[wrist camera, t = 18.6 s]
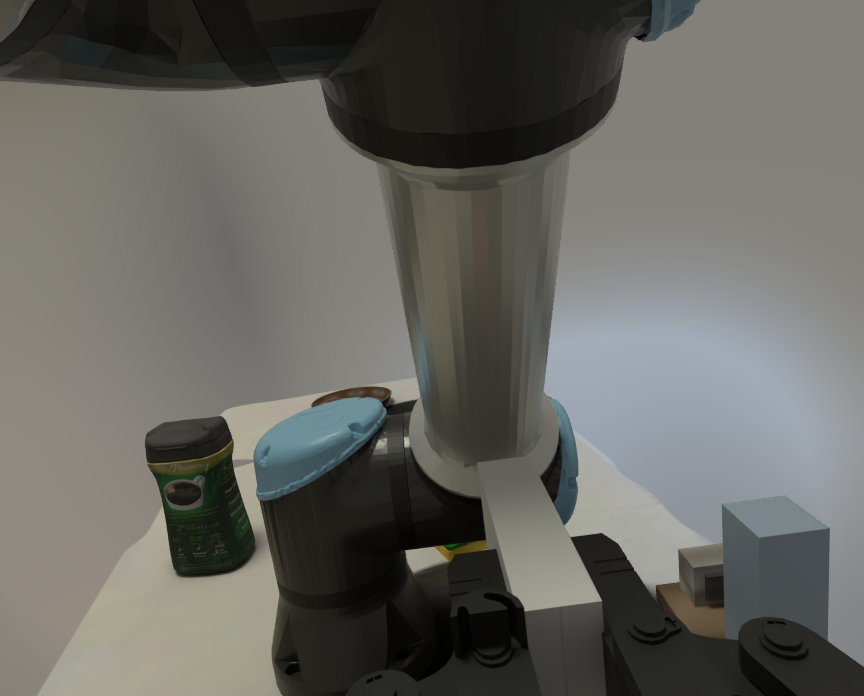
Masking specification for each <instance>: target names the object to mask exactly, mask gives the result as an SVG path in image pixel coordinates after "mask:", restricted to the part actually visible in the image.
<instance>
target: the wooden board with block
mask: <svg viewBox="0 0 864 696" xmlns="http://www.w3.org/2000/svg"><path fill="white" fill-rule="evenodd" d="M678 555H679V580H680V582H677V583H670V584H662V585H656V596H657V600H658V602H659V603H660V605H661V606H662V608H663V610H665V611H667V612H669V613H671V614H673V615H675V616H677V617H678V618H679V619H680V620H681V621H682V622H683V623H684V624H685V625H686V626H687V628H688V629H689V631H690V632H691V633H694V634H697V635H702V636H707V637H714V638H724V639H727V638H726V637H725V613H724V570H723V543H721V544H714V545H706V546H699V547H691V548H684V549H678Z"/></svg>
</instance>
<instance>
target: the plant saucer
mask: <svg viewBox="0 0 864 696" xmlns="http://www.w3.org/2000/svg"><path fill="white" fill-rule="evenodd" d="M390 396H391V390H389V389H387V388H384V387H357V388H350V389H345V390H341V391H337V392H333V393H330V394H327V395H325V396H322V397H320V398H318V399H317V400H315V401H314V402H313V403H312V405H311V407H312V408H313V407H315V406H317V405H318V404H319V403H320V402H321V401H324V400H329V399H334V398H339V399H340V398H354V397H361V398H366V397H371V398H375V399H378V400H379V401H380V402H381V403H382V405H383V406H385V405H386V404H387V402H388V400H389V398H390Z"/></svg>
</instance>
